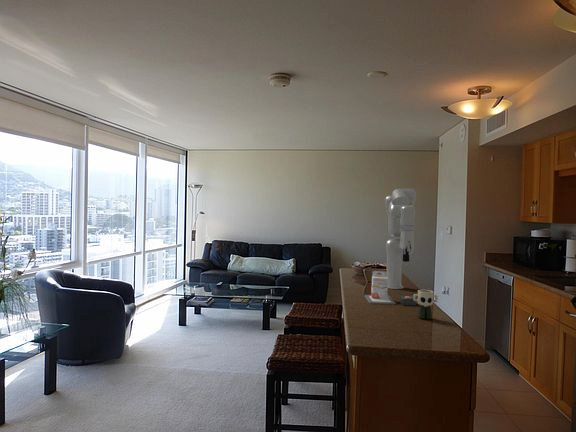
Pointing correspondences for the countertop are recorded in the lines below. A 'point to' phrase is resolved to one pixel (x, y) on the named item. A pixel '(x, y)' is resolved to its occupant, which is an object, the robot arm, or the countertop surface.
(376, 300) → the drawing board
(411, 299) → the button housing
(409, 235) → the robot arm
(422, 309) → the character mug
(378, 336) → the countertop surface
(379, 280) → the ink cartridge box
